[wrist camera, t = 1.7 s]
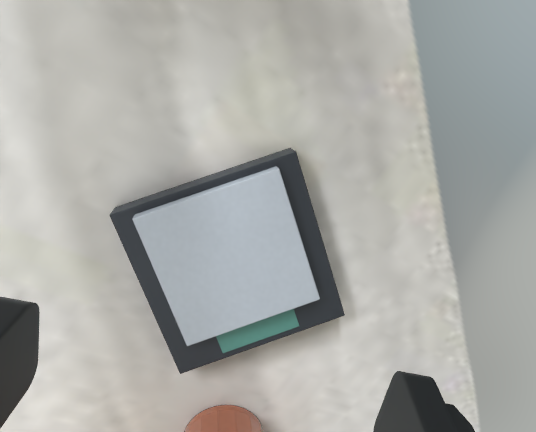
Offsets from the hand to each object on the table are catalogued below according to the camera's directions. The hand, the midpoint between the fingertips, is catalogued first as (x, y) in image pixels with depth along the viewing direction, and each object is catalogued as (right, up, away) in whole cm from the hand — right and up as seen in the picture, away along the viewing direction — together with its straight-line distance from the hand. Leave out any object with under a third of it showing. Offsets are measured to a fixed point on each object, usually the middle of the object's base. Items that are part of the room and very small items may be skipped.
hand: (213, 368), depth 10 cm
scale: (-1, 0, +24) cm, 24 cm away
